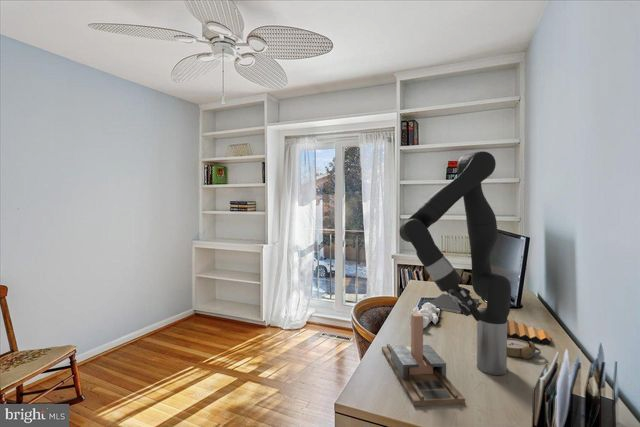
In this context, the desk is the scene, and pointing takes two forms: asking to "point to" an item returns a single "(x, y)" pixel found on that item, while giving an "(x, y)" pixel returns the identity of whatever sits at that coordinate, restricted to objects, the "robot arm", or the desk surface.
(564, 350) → the desk surface
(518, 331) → the orange corrugated panel
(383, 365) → the desk surface
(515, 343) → the alarm clock
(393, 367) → the track board
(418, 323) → the pink post on block
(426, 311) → the figure
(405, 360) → the tunnel
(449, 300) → the notebook
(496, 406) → the desk surface
